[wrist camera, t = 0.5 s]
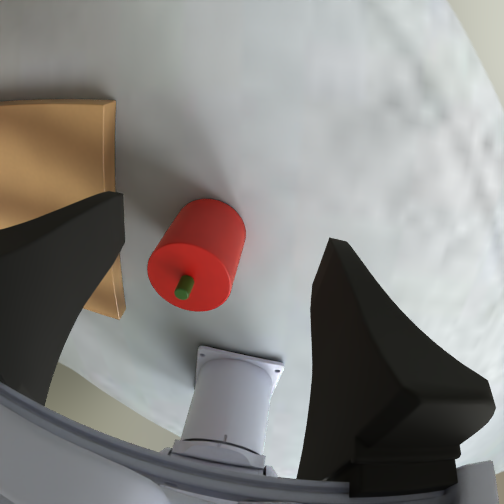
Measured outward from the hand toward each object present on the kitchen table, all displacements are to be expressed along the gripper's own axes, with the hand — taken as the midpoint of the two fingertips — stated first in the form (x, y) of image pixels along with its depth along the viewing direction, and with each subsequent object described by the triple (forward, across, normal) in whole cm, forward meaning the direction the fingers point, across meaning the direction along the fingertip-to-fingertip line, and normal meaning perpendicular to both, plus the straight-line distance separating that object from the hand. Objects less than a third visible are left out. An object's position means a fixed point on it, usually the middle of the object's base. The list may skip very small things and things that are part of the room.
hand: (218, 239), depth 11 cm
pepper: (+9, +2, +6) cm, 11 cm away
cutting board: (+9, +16, +7) cm, 20 cm away
